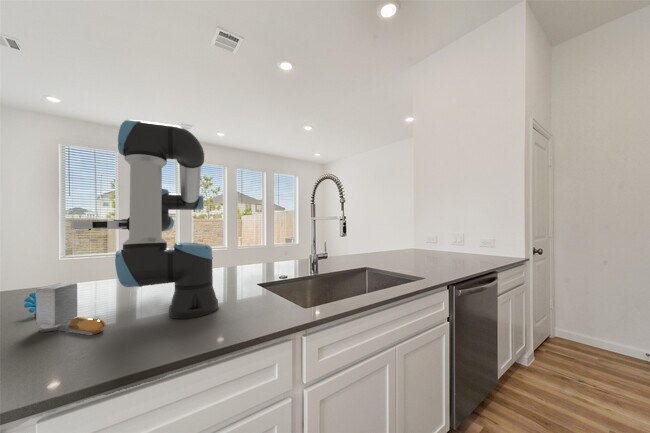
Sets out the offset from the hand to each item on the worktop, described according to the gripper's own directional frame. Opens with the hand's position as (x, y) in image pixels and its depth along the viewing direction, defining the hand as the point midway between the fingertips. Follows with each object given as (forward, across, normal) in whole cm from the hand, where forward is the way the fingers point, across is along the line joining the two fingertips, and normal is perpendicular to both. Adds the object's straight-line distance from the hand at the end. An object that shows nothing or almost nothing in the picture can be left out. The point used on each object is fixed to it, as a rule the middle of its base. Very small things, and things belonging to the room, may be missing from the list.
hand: (89, 225), depth 86 cm
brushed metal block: (+10, 0, -28) cm, 30 cm away
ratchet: (+11, -7, -30) cm, 33 cm away
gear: (0, +17, -30) cm, 35 cm away
